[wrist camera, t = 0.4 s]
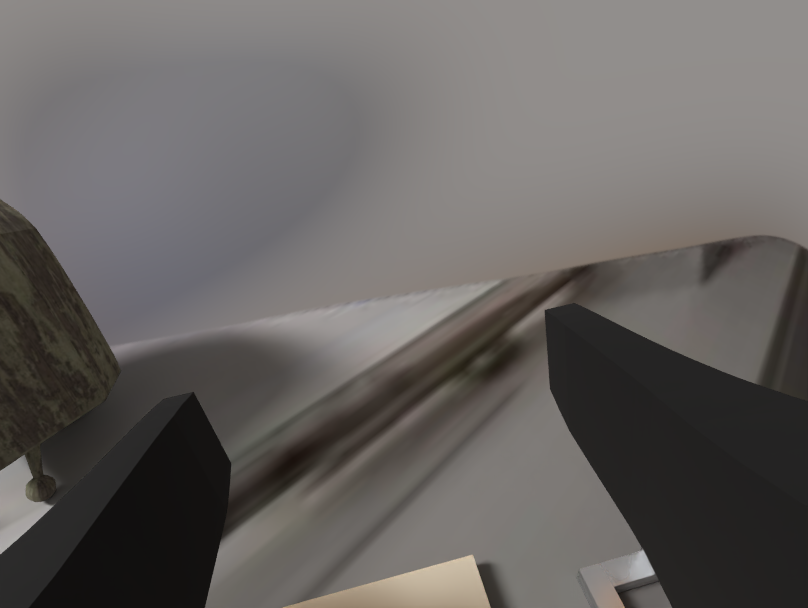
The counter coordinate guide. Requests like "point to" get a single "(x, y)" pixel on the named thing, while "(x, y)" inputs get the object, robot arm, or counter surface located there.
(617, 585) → the grey and tan frame
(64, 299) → the tabletop clock
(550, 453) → the counter surface
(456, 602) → the board
